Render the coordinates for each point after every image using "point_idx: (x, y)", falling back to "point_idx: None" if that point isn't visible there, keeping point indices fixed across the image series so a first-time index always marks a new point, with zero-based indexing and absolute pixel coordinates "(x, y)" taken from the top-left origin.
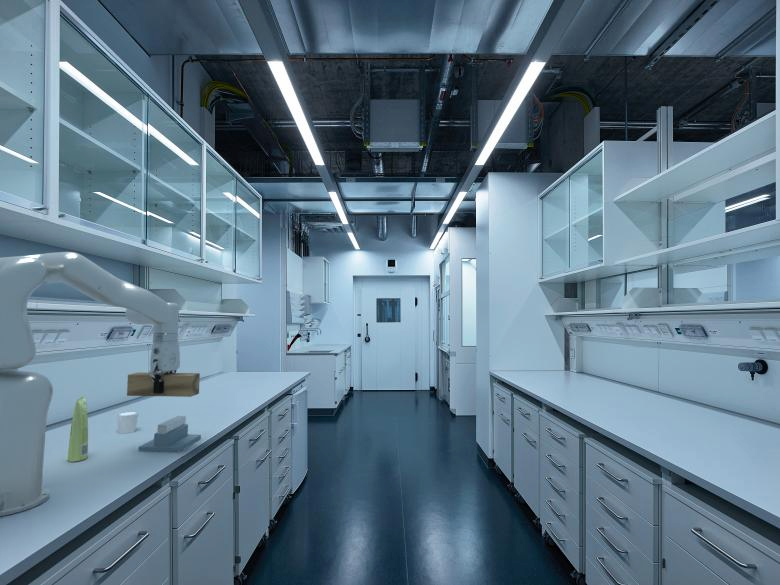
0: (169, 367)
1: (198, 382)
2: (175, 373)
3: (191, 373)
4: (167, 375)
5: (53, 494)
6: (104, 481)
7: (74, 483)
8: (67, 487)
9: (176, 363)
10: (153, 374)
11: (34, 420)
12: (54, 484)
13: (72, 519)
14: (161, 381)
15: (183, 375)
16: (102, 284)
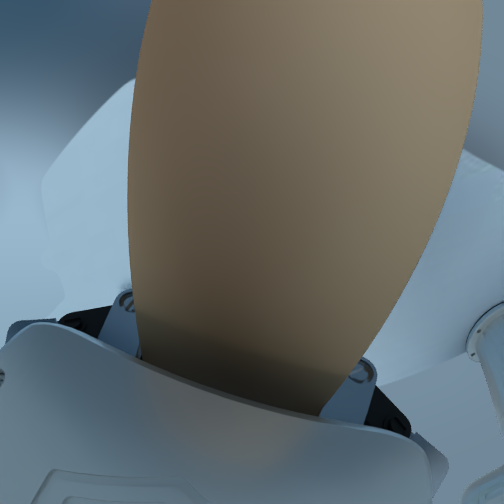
0: (299, 476)
1: None
2: (175, 313)
3: (179, 22)
4: (347, 374)
5: (491, 302)
6: (479, 246)
7: (463, 294)
8: (475, 296)
9: (57, 424)
10: (436, 453)
11: None
12: (451, 321)
13: None
14: (361, 358)
15: (462, 115)
16: None
